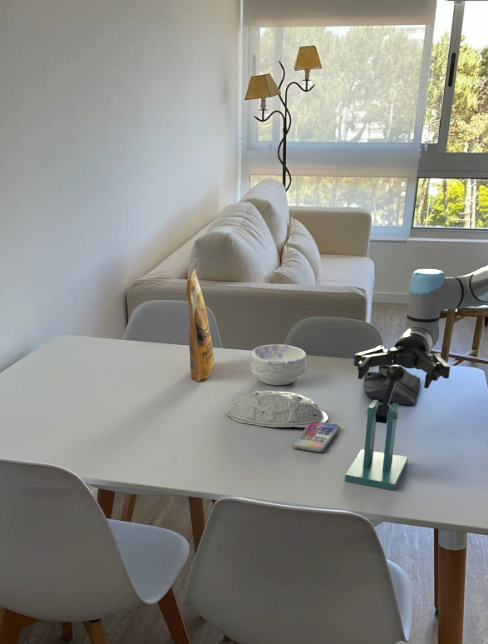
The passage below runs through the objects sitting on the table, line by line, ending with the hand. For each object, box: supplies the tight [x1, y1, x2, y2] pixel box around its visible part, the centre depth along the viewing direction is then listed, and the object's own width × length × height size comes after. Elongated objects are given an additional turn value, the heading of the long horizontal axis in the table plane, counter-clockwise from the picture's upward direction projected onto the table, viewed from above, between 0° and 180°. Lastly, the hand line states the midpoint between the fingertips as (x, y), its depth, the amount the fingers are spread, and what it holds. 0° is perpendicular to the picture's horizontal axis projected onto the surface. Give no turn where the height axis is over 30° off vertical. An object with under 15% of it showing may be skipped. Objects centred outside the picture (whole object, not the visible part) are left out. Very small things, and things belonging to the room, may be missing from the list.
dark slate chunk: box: [363, 364, 421, 406], centre depth 187 cm, size 15×22×5 cm
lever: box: [375, 365, 404, 425], centre depth 142 cm, size 14×4×4 cm, turn 157°
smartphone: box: [291, 421, 341, 453], centre depth 160 cm, size 7×1×15 cm
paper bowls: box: [249, 344, 307, 386], centre depth 193 cm, size 15×15×8 cm
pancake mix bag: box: [186, 268, 215, 382], centre depth 194 cm, size 7×19×28 cm, turn 171°
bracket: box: [344, 399, 409, 492], centre depth 142 cm, size 13×10×15 cm
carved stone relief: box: [225, 390, 329, 428], centre depth 171 cm, size 16×25×7 cm, turn 73°
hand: (392, 377), depth 144 cm, fingers open, 13 cm apart
